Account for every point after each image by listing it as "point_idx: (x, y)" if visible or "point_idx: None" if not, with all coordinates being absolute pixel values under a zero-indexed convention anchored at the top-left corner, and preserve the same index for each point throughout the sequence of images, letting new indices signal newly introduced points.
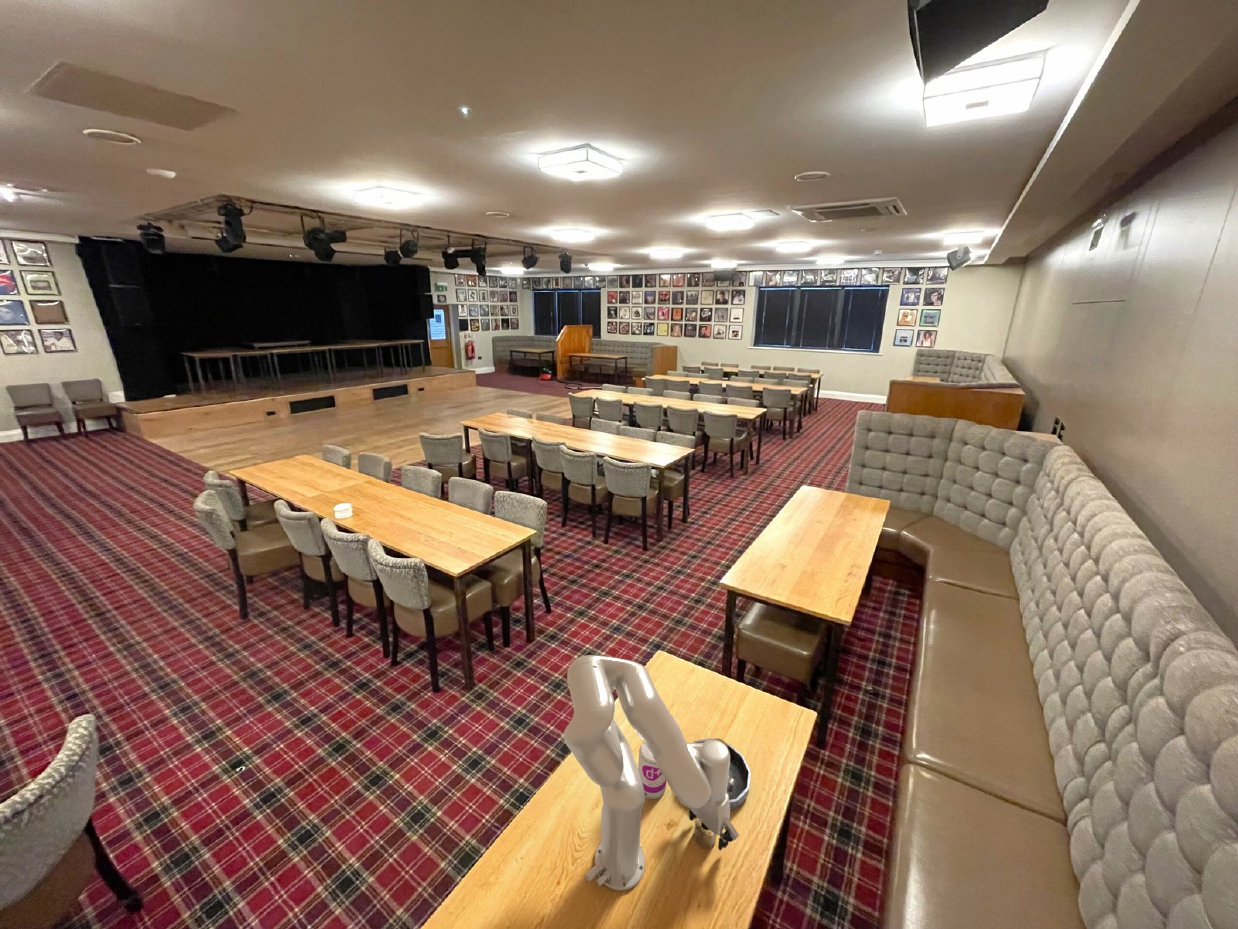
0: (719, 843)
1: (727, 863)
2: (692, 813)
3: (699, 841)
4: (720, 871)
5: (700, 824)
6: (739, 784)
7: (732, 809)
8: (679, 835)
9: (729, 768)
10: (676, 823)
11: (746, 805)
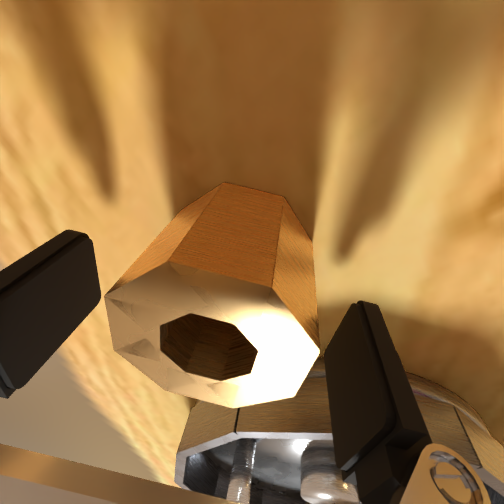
0: (11, 277)
1: (66, 197)
2: (374, 387)
3: (236, 206)
4: (50, 126)
5: (252, 337)
6: (229, 455)
7: None
8: (409, 166)
9: (285, 479)
10: (457, 230)
11: (181, 407)
